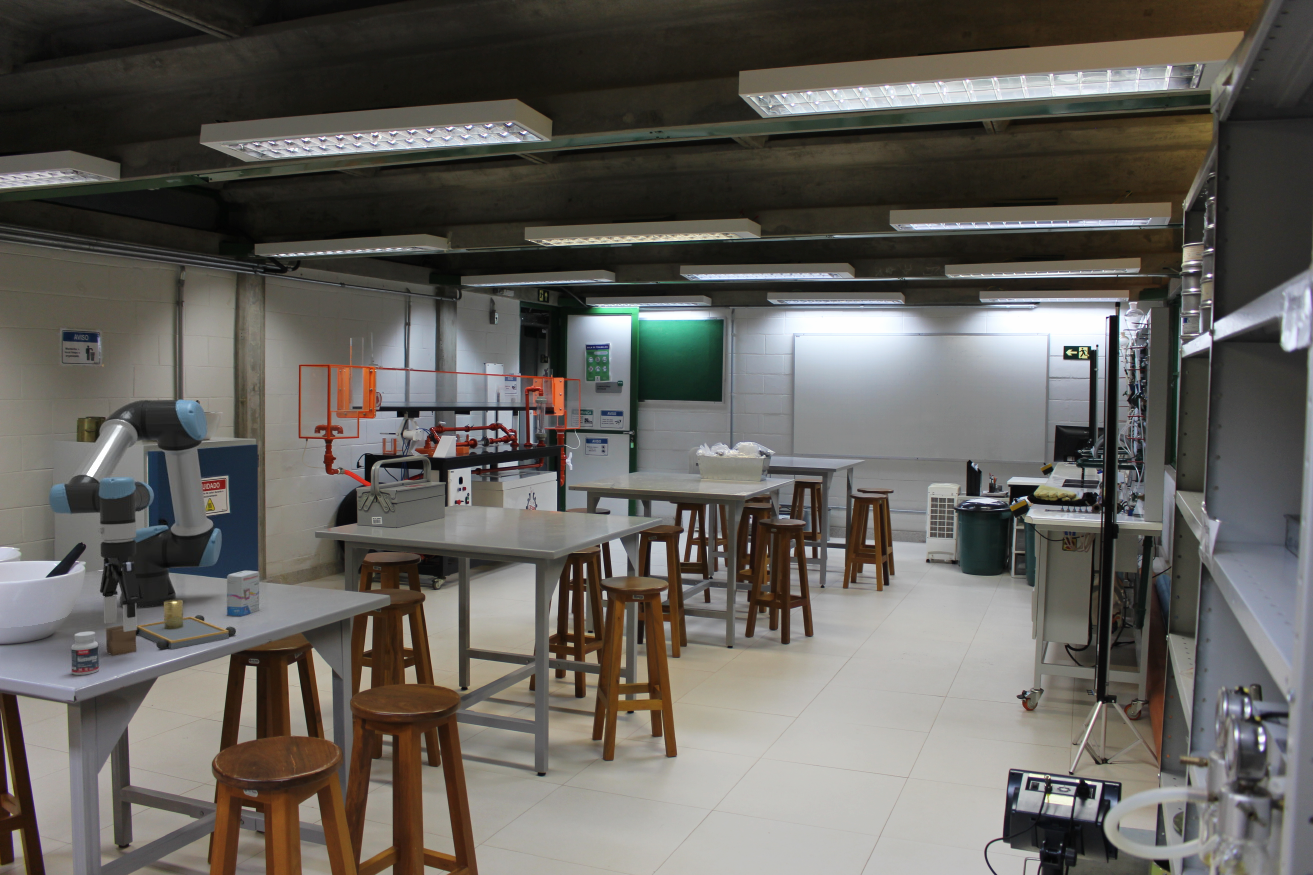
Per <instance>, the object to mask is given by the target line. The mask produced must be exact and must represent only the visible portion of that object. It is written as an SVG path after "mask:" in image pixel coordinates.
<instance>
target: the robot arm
mask: <svg viewBox="0 0 1313 875" xmlns="http://www.w3.org/2000/svg"><path fill="white" fill-rule="evenodd" d="M207 426H208V421H207V417H206V414H205V411H204V409H203V407H202V405H201V404H200V403H199V402H198V401H195V400H187V399H153V400H151V399H139V400H136V401H133V402H129V403H127V404H125V405H122V406H121V407H120V408H118V409H117V410H115V411H114V412H112V413H111V414H109V416H107V418H106V419H105V420H104V421H103V423H102V424H101V425H100V428H99V436H98V437H97V439H96V440H95V442H94V444H93V445H92V447H91V448H90V450H89V451H88V453H87V454H86V456H85V458H84V459H83V460H82V462H81V463H80V465H79V467H78V468H77V469H76V471H75V473H74V474H73V476H72V477H71V479H70V480H69V481H68V483H65V482H63V483H58V484H57V483H56V484H54V485H53V486H52V487H51V489H50V491H49V495H48V503H49V507H50V509H51V511H52V512H54V513H55V514H69V515H72V514H74V515H75V514H98V513H99V524H100V527H99V528H98V529H97V532H98V533H100V540H101V541H102V542H101V543H100V556H101V558H102V559H103V568H102V575H101V581H100V589H99V593H100V594H102V596H103V624H109V623H117V622H118V606H117V605H118V602H117V601H118V600H119V606H120V607H122V617H123V618H122V620H123V621H122V626H123V631H124V632H126V631H133V630H137V626H138V622H137V621H138V620H137V619H138V618H137V616H138V614H137V609H139V608H150V607H157V606H158V607H159V606H164V602H165V601H168V600H176V599H177V594H176V590H175V587H174V586H173V583H172V580H171V578H170V571H169V570H170V569H177V568H178V569H180V568H202V567H204V568H205V567H212V566H214V565H215V564H216V563H217V562H218V559H219V556H220V554H221V548H222V542H223V541H222V540H223V538H222V537H223V536H222V531H221V529H220V528H218V527H216V528H214V523H213V522H214V521H212V520H211V519H209V518H208V517H207V511H206V510H207V509H206V503H205V497H204V496H205V495H204V489H203V483H202V475H201V468H200V460H199V452H198V448H199V447H200V446H201V445H202V443H203V440H204V439H206V437H207V433H208V428H207ZM139 441H156V442H157V444H156V445H157V449H159V450H160V451H162V452H163V453H164V455H165V456H164V457H165V462H166V464H165V465H166V469H167V470H166V471H167V474H168V475H167V477H168V482H169V487H170V488H169V489H170V494H171V495H170V496H171V501H172V507H173V514H174V520H175V521H174V523H173V524H172V525H171V526H170V529H169V526H168V525H166V524H165V525H164V524H163V525H162V524H161V525H152V526H148V527H141V528H137V520H136V512H142V511H144V510H145V509H147V508H149V507H150V506H151V505H152V504H153V501H154V498H155V493H154V490H153V489H152V487H151V486H150V485H149V484H148V483H146V482H143V481H138V480H137V481H135V479H134V477H131V476H113V477H112V475H113V473H114V472H115V470H116V468H117V466H118V465H119V463H120V462H121V460H122V458H123V456H124V455H125V454H126V452H127V450H128V449H129V448H131V447H133V446H134V445H135V444H136V443H137V442H139ZM118 585H119V588H120V591H121V593H120V596H119V599H118V600H117V595H119V593H118V591H117V589H118Z"/></svg>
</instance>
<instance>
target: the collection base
mask: <svg viewBox="0 0 1313 875" xmlns="http://www.w3.org/2000/svg"><path fill="white" fill-rule="evenodd" d="M236 633H237V630H236V628H235V627H233V626H227V627H226V628H222V627H220V626H217V625H215V624H212V623H210V622H207V621H205V617H204V616H203V615H201V614H198V615H196V616H195V615H194V617H193V616H186V617H183V627H182V628H178V629H165V623H164V620H162V621H158V622H156V621H155V622H151V623H146V624H139V625H138V624H137V630H136V636H137V635H138V636H140V637H141V636H142V637H143V638H146V639H147V640H150V641H152V642H155V643H156V648H158V649H160V650H166V649H170V650H175V649H179V648H185V647H191V646H196V645H200V644H206V643H212V642H217V641H223V640H227V639H229V637H233V636H235V635H236Z"/></svg>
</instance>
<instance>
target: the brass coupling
mask: <svg viewBox="0 0 1313 875" xmlns="http://www.w3.org/2000/svg"><path fill="white" fill-rule="evenodd" d="M183 603H184V602H183V599H177V598H176V600H168V601H165V602H164V605H163V609H164V610H163V611H164V612H163V614H164V615H163V617H164V620H163V621H164V623H165V629H178V628H182V627H183V618H184V606H183V605H184V604H183Z"/></svg>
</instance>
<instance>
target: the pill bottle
mask: <svg viewBox="0 0 1313 875" xmlns="http://www.w3.org/2000/svg"><path fill="white" fill-rule="evenodd" d="M95 640H96V632H95V631H81V632H80V631H79V632H77V633H75V634H74V642H75V643H73V644H72V645H71V649H70V650H71V655H70V656H71V674H72V675H75V676H84V675H90V674H94V673H97V672H98V671H99V669H100V663H99V662H100V658H99V656H100V655H99V654H100V652H99V643H98V642H97V640H96V641H95Z"/></svg>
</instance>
